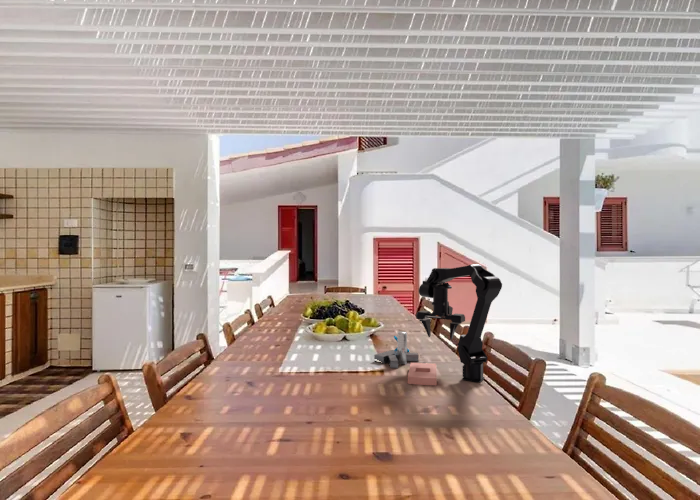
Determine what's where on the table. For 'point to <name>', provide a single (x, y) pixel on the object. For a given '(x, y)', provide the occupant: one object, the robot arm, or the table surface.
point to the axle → (402, 347)
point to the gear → (396, 348)
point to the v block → (394, 358)
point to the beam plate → (422, 374)
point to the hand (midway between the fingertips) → (440, 338)
